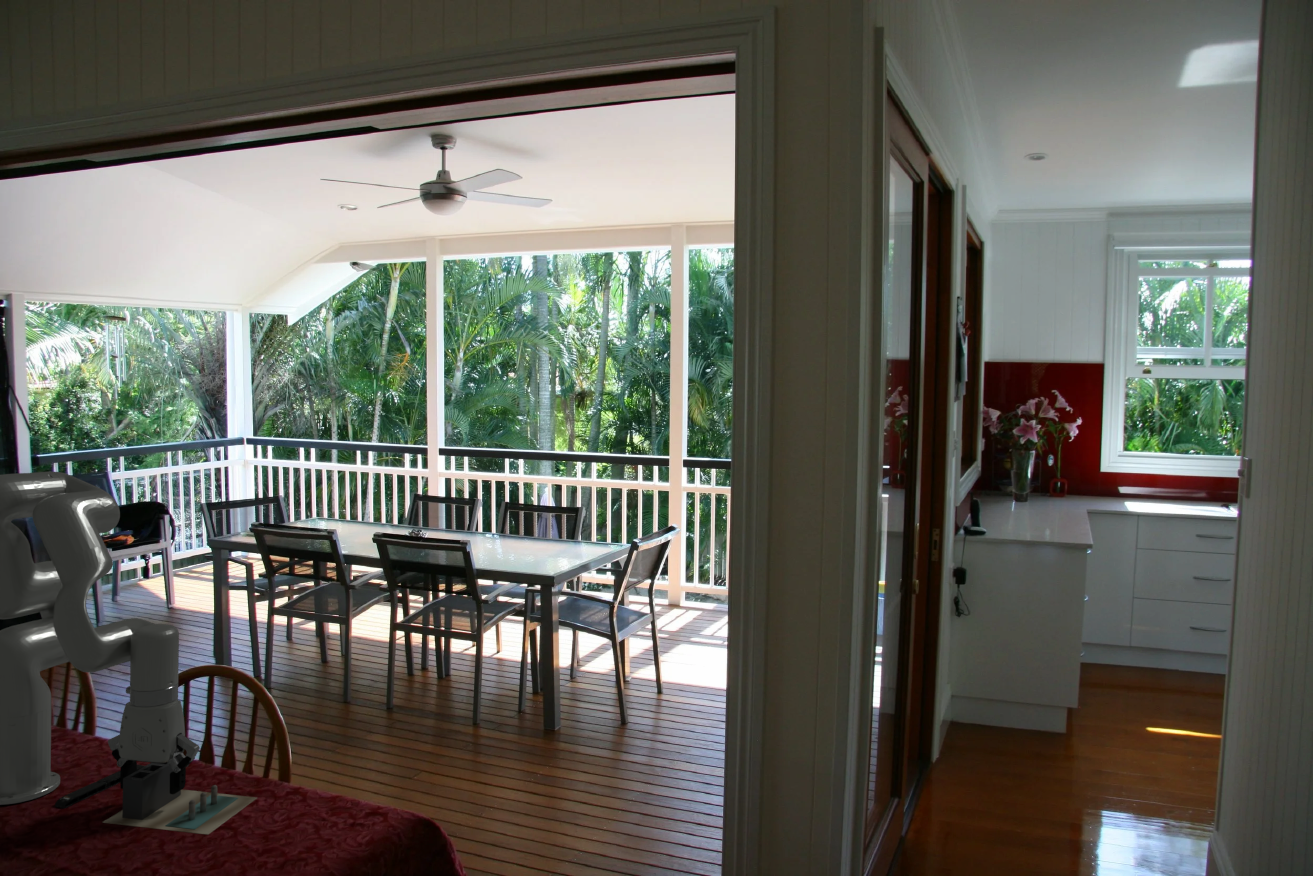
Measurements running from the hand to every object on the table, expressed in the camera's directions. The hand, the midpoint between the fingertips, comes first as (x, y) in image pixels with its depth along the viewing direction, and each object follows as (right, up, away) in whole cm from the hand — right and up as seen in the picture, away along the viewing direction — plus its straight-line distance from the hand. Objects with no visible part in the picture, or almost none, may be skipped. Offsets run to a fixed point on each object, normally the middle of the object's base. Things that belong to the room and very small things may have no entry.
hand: (152, 788), depth 154 cm
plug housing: (0, -3, 0) cm, 3 cm away
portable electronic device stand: (-13, -5, +7) cm, 16 cm away
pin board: (+6, -5, -1) cm, 8 cm away
